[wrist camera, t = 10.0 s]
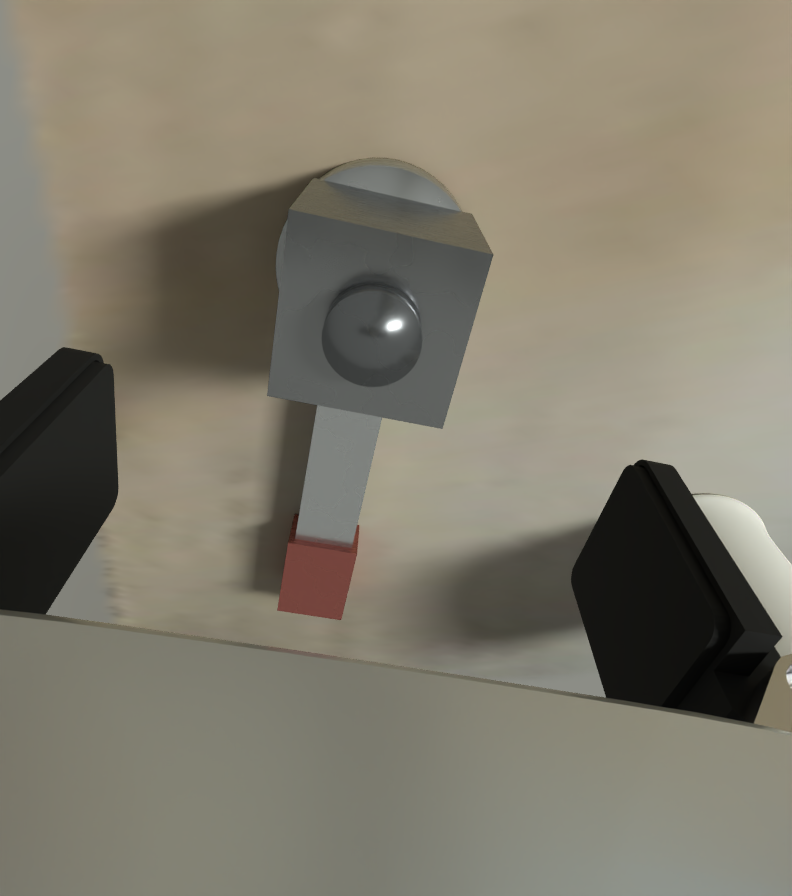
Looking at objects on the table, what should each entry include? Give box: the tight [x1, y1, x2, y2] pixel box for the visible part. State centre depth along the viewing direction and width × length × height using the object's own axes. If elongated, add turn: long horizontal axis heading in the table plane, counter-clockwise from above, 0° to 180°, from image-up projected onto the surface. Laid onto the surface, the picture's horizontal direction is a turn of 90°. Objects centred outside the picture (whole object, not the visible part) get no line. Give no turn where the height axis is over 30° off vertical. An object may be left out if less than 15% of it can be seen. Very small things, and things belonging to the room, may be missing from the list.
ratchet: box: [276, 158, 462, 620], centre depth 28 cm, size 24×8×6 cm, turn 168°
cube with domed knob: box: [267, 178, 493, 429], centre depth 21 cm, size 6×6×7 cm
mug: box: [692, 494, 792, 657], centre depth 30 cm, size 12×8×12 cm
